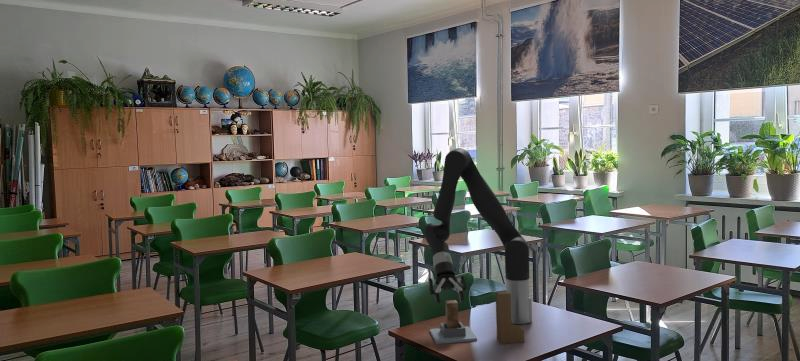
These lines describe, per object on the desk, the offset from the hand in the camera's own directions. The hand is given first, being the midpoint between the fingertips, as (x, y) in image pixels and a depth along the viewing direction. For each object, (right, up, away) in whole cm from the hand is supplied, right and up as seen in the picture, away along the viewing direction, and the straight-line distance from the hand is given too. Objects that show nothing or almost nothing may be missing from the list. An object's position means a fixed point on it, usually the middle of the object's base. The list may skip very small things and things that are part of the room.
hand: (450, 302), depth 222 cm
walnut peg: (0, -11, -2) cm, 11 cm away
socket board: (+1, -12, -2) cm, 12 cm away
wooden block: (+21, -12, -10) cm, 26 cm away
